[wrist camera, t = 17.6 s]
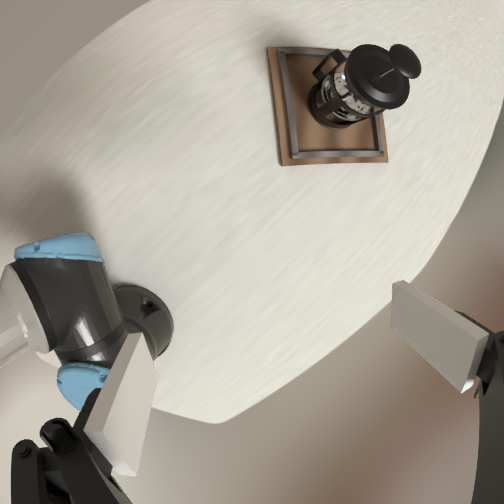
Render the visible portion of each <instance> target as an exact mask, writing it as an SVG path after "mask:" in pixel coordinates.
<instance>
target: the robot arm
mask: <svg viewBox="0 0 504 504" xmlns="http://www.w3.org/2000/svg"><path fill="white" fill-rule="evenodd" d="M14 258H15V260H16V261H15V262H12V263H10V264H8V265H6V266H5V267H4V270H3V273H2V276H1V279H0V369H1V368H2V367H4V366H5V365H7V364H8V363H10V362H11V361H13V360H14V359H16V358H17V357H19V356H20V355H22V354H23V353H25V352H27V351H28V350H34V351H37V352H40V353H43V354H47V353H49V352H50V351H52V350H53V349H54V351H55V353H56V355H57V357H58V359H59V360H60V362H61V364H62V366H61V367H60V368H59V370H58V375H57V377H58V378H57V384H58V388H59V390H60V392H61V393H62V395H63V396H64V397H65V399H66V400H67V401H68V402H69V403H70V404H72V405H73V406H74V407H75V408H76V409H78V410H79V411H81V412H80V413H79V415H78V417H77V419H76V421H75V424H74V426H73V428H72V427H71V426H70V424H69V423H68V421H67V420H65V419H63V418H54V419H51V420H49V421H47V422H46V423H45V424H44V425H43V426H42V428H41V430H40V437H41V439H42V440H43V441H44V442H45V443H46V445H47V446H48V447H44V448H38V446H37V445H36V444H35V443H34V442H33V441H32V440H29V439H28V440H26V439H24V440H22V441H20V442H18V443H17V444H16V445H15V447H14V448H13V451H12V461H11V504H132V502H131V501H130V500H129V498H128V497H127V496H126V494H125V493H124V492H123V490H122V489H121V487H120V486H119V485H118V483H117V482H116V480H115V479H114V478H113V477H112V476H111V471H112V467H113V468H114V469H115V470H116V471H117V472H118V474H120V475H130V476H137V473H138V468H139V462H140V458H141V452H142V447H143V442H144V438H145V433H146V428H147V423H148V419H149V414H150V410H151V406H152V401H153V397H154V393H155V389H156V385H157V381H158V377H159V375H158V372H157V370H156V367H155V365H154V362H153V361H154V360H155V359H156V358H157V357H158V356H160V355H161V354H162V353H163V352H164V351H165V350H166V349H167V348H168V346H169V344H170V342H171V338H172V335H173V330H174V325H173V319H172V316H171V313H170V311H169V309H168V308H167V306H166V305H165V304H164V302H163V301H162V300H161V299H160V298H159V297H158V296H156V295H155V294H154V293H152V292H150V291H148V290H146V289H144V288H141V287H136V286H123V287H120V288H117V289H115V290H113V289H112V287H111V284H110V281H109V278H108V275H107V272H106V269H105V267H104V263H105V262H104V259H102V258H101V255H100V252H99V250H98V247H97V244H96V241H95V239H94V237H93V236H92V235H90V234H89V233H86V232H78V233H71V234H66V235H61V236H57V237H53V238H48V239H45V240H41V241H39V242H34V243H29V244H26V245H22V246H20V247H17V248H16V249H15V255H14ZM390 327H391V328H392V329H393V330H394V331H395V332H396V333H397V334H398V335H400V336H401V337H402V338H403V339H404V340H405V341H406V342H407V343H408V344H409V345H411V346H412V347H413V348H414V349H415V350H416V351H417V352H418V353H419V354H420V355H421V356H422V357H424V358H425V359H426V360H427V361H428V362H429V363H430V364H431V365H432V366H433V367H434V368H435V369H436V370H438V371H439V372H440V373H441V374H442V375H443V376H444V377H445V378H446V379H447V380H448V381H449V382H450V383H451V384H452V385H453V386H454V387H455V388H456V389H457V390H458V391H459V392H460V393H462V392H464V391H465V390H467V389H468V388H469V387H471V386H472V385H473V383H474V380H475V378H476V375H477V376H478V377H479V378H480V381H479V384H478V386H477V389H476V391H475V394H474V398H476V396H477V393H478V392H479V409H480V427H479V449H478V462H477V471H476V478H475V485H474V491H473V497H472V502H471V504H504V331H500V332H498V333H496V334H495V333H494V332H492V331H491V330H489V329H488V328H486V327H485V326H483V325H481V324H480V323H478V322H476V321H475V320H473V319H471V318H470V317H469V316H467V315H466V314H464V313H461V312H458V311H455V310H452V309H450V308H449V307H447V306H446V305H444V304H442V303H441V302H439V301H437V300H436V299H434V298H432V297H431V296H429V295H428V294H426V293H424V292H422V291H421V290H419V289H418V288H416V287H414V286H412V285H411V284H409V283H407V282H406V281H404V280H402V281H399V282H395V283H393V285H392V307H391V322H390Z"/></svg>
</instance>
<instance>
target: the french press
mask: <svg viewBox="0 0 504 504" xmlns="http://www.w3.org/2000/svg"><path fill="white" fill-rule="evenodd" d="M331 57H332V58H333V59H334V60H335V61H336V63H337V65H336V66H335V67H334V68H333V69H332V70H331V71H330V72H329V73H328V74H327V75H325V74H324V73H323V72H322V70H321V68H322V67H323V66H324V65H325V64H326V63H327V62H328V61H329V60H330V58H331ZM344 62H346V64H345V67H344V71H337V72H335V71H336V70H337V69H338V68H339V67H340V66H341V65H342V64H343V63H344ZM420 73H421V64H420V61H419V59H418V57H417V56H416V54H415V53H414V52H413V51H412V50H411V49H410V48H408V47H407V46H405V45H402V44H395V45H393V46H391V48H390V50H389V51H387V50H386V49H384V48H382V47H379V46H376V45H371V44H365V45H360V46H358V47H356V48H355V49H353V50H352V51H351V53H350V54H349V56H348V58H346V57H345V56H344V55H343V54H342V52H341V51H340V50H339V49H335V50H333V51H332V52H330V53H328V54H327V56H326V57H325V58H324V59H323V60H322V61H321V62H320V64H319V65H318V66H317V67H316V68H315V69H314V70H313V72H312V74H313V75H314V77H315V78H316V79H317V80H318V81H319V82H318V83H316V84H315V85H314V86H313V87H312V88H311V89H310V91H309V93H308V97H307V104H308V109H309V111H310V113H311V115H312V116H313V118H314V119H315V120H316V121H317V122H318V123H319V124H321V125H322V126H324V127H326V128H329V129H333V130H341V129H345V128H347V127H349V126H350V125H352V124H354V123H357V122H359V121H362V120H365V119H367V118H370V117H373V116H376V115H378V114H380V113H382V112H383V111H384V110H385V109H389V110H391V109H395V108H398V107H400V106H402V105H403V104H404V103H405V101H406V100H407V98H408V95H409V90H410V85H409V79H408V78H410V79H415V78H417V77H418V76H419V75H420ZM320 89H322V98H323V101H324V104H323V105H322V106H320V107H319V108H318V106H317V104H316V100H315V99H316V95H317V93H318V91H319V90H320ZM371 107H375V108H381V110H379V111H376V112H373V113H371V114H368V112H369V110H370V108H371ZM331 113H332V114H334V115H335V116H337V117H339V118H341V119H344V120H345V121H343V122H332V121H330V120H328V119H327V118H326V116H327V115H329V114H331ZM367 114H368V115H367Z"/></svg>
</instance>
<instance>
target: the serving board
mask: <svg viewBox="0 0 504 504" xmlns="http://www.w3.org/2000/svg"><path fill="white" fill-rule="evenodd" d="M333 50H334V49H323V48H307V47H268V49H267V51H268V58H269V65H270V72H271V79H272V87H273V95H274V102H275V110H276V119H277V127H278V136H279V145H280V154H281V164H282V166H292V165H308V164H330V163H388V153H387V144H386V135H385V127H384V120H383V113H380V114H378V115H376V116H373V117H370V118H367V119H365V120H362V121H359V122H357V123H354V124H352V125H350V126H349V127H347V128H345V129H341V130H333V129H329V128H326V127H324V126H322V125H321V124H319V123H318V122H317V121H316V120H315V119H314V118H313V116H312V115H311V113H310V111H309V109H308V104H307V97H308V93H309V91H310V89H311V88H312V87H313V86H314V85H315V84H316V83H318V82H319V81H318V80H317V79H316V78H315V77H314V75H313V74H312V72H313V70H314V69H315V68H316V67H317V66H318V65H319V64H320V62H321V61H322V60H323V59H324V58H325V57H326V56H327V54H328V53H330V52H332V51H333ZM340 51H341V52H342V54H343V55H344V56H345V57H346V58H348V56H349V54H350V53H351V51H344V50H340ZM345 64H346V62H344V63H343V64H342V65H341V66H340V67H339V68H338V69H337V70H336V71H335V72H337V71H344V67H345ZM336 65H337V63H336V61H335V60H334V59H333V58H332V57H331V58H330V60H329V61H328V62H327V63H326V64H325V65H324V66H323V67H322V68H321V70H322V72H323V73H324V74H325V75H327V74H328V73H329V72H330V71H331V70H332V69H333V68H334V67H335V66H336ZM315 100H316V104H317V106H318V108H319V107H320V106H322V105H323V104H324V101H323V98H322V89H320V90H319V91H318V93H317V95H316V99H315ZM379 110H381V108H375V107H371V108H370V110H369V112H368V114H371V113H373V112H376V111H379ZM368 114H367V115H368ZM326 118H327V119H328V120H330V121H332V122H343V121H345V120H344V119H341V118H339V117H337V116H335V115H334V114H332V113H331V114H329V115H327V116H326Z"/></svg>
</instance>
